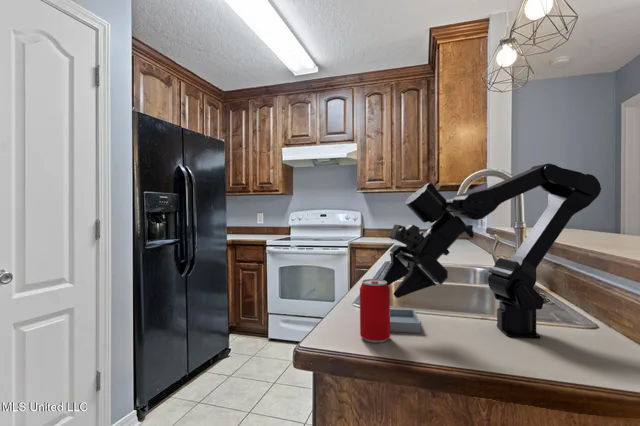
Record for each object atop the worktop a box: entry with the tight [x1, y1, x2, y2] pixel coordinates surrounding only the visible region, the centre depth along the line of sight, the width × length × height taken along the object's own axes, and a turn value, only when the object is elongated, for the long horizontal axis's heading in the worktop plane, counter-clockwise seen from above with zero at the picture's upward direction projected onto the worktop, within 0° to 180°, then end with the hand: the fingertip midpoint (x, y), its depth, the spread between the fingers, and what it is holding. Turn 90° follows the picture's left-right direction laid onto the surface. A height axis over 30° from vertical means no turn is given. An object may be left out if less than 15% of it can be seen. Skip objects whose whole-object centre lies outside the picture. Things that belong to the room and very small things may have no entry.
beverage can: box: [359, 278, 391, 344], centre depth 68 cm, size 6×6×12 cm
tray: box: [390, 308, 422, 334], centre depth 77 cm, size 10×10×2 cm
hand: (388, 290), depth 69 cm, fingers open, 9 cm apart
